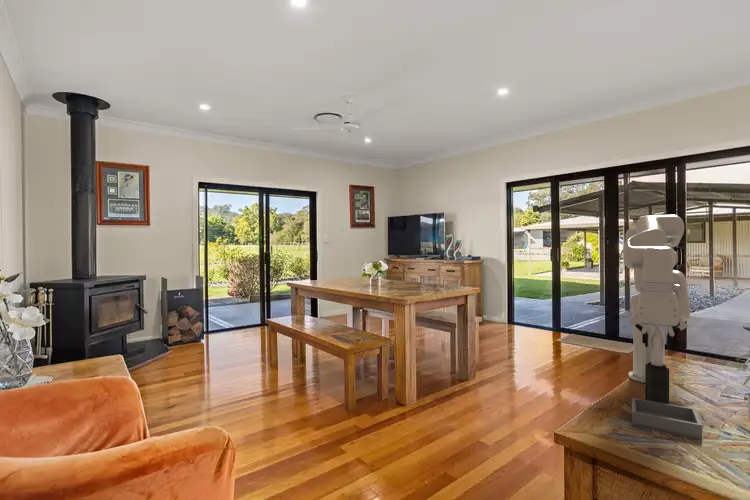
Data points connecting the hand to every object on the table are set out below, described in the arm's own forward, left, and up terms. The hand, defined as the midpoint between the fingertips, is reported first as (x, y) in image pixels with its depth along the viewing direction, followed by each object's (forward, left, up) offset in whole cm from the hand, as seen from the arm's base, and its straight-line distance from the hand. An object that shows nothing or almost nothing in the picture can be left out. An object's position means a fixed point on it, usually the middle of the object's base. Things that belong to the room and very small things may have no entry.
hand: (657, 346), depth 121 cm
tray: (+12, +1, -19) cm, 22 cm away
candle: (0, 0, -19) cm, 19 cm away
